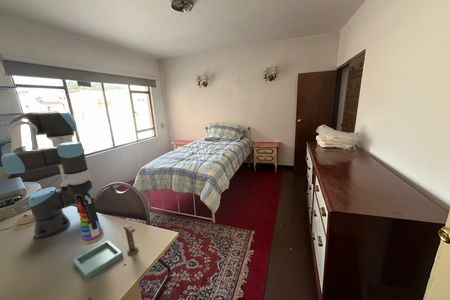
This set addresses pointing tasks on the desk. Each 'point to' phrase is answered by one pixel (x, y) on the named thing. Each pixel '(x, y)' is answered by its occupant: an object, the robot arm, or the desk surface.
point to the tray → (97, 259)
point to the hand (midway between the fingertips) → (91, 231)
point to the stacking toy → (85, 228)
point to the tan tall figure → (130, 239)
